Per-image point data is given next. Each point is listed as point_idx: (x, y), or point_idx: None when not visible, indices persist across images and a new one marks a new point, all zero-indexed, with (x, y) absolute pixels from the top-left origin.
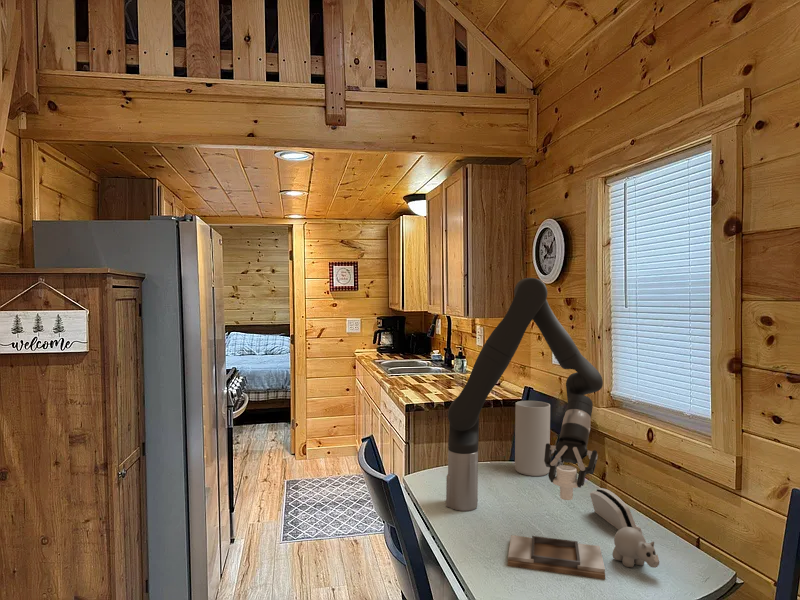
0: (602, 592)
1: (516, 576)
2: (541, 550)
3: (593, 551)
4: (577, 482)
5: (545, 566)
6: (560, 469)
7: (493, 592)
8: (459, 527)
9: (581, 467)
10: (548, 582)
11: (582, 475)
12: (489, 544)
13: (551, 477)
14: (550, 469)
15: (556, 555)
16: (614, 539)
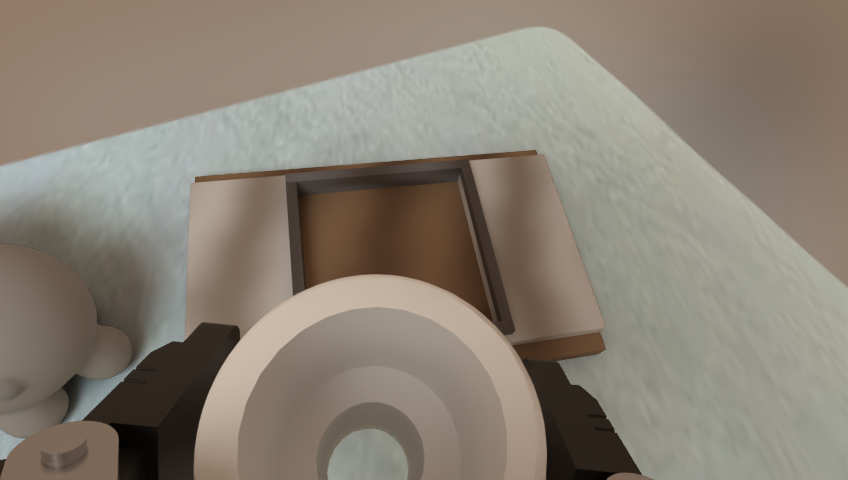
0: (220, 112)
1: (485, 114)
2: (450, 271)
3: (222, 316)
4: (230, 325)
5: (411, 161)
6: (458, 306)
7: (514, 34)
8: (843, 385)
9: (78, 473)
10: (388, 113)
11: (127, 402)
12: (654, 280)
13: (544, 361)
14: (620, 458)
15: (385, 253)
16: (84, 313)
